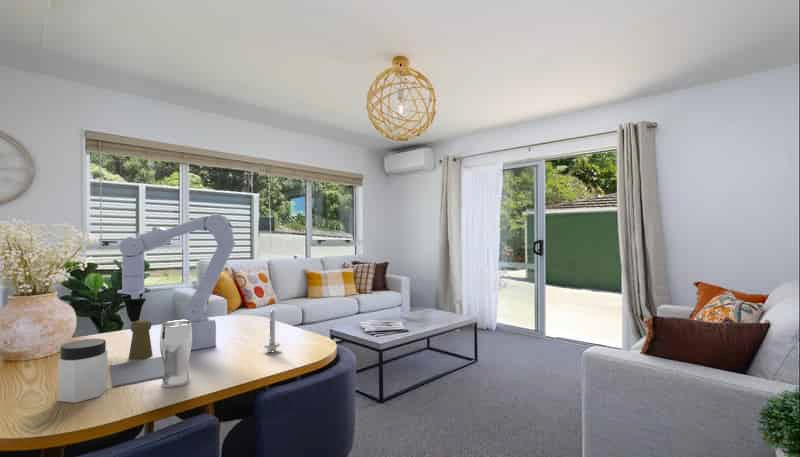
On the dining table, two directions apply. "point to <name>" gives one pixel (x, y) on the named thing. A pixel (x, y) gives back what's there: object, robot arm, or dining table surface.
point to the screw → (272, 335)
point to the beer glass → (175, 352)
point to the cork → (140, 340)
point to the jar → (82, 370)
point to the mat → (136, 371)
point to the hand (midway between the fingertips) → (133, 318)
